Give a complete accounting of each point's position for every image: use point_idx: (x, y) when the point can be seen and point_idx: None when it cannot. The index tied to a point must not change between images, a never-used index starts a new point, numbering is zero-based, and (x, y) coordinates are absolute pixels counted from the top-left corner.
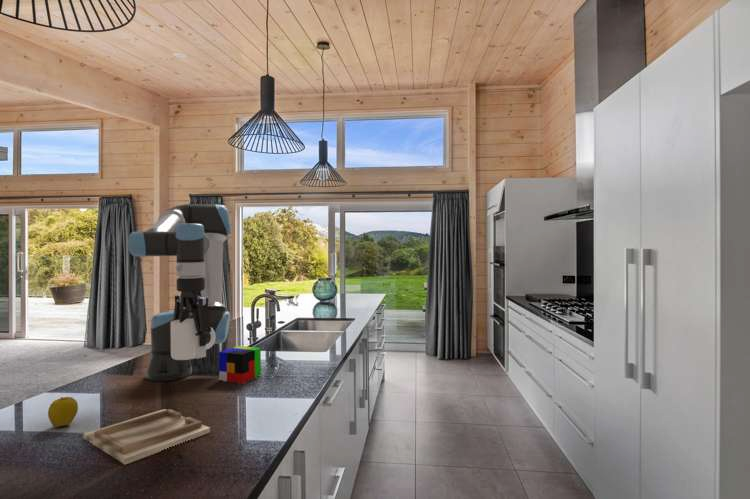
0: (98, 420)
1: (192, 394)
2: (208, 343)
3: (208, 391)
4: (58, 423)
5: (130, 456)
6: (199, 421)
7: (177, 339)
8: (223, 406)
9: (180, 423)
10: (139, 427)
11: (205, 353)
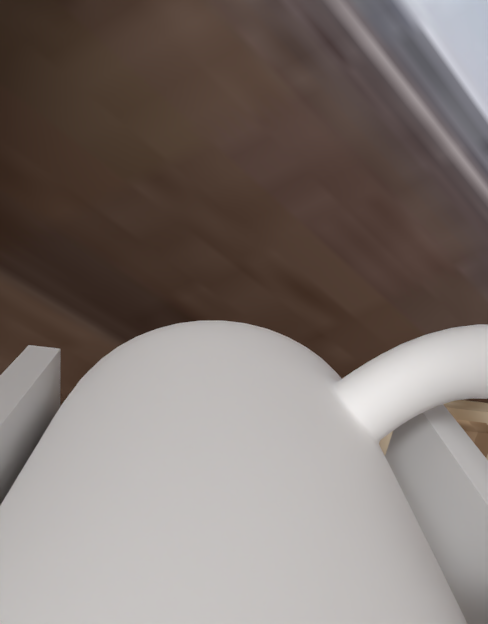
0: None
1: (45, 116)
2: (457, 392)
3: (77, 17)
4: None
5: None
6: (485, 436)
7: None
8: (370, 180)
9: (384, 439)
10: None
11: (448, 418)
